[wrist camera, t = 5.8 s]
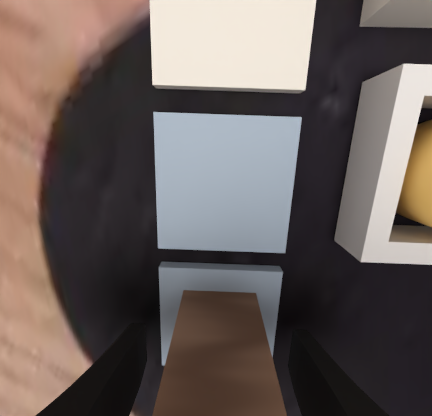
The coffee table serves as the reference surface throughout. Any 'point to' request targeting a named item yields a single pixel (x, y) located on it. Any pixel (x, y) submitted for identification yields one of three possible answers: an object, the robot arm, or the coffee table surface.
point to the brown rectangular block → (219, 359)
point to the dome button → (418, 178)
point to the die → (397, 13)
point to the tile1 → (224, 180)
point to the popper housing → (384, 169)
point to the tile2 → (231, 44)
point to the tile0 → (217, 281)
